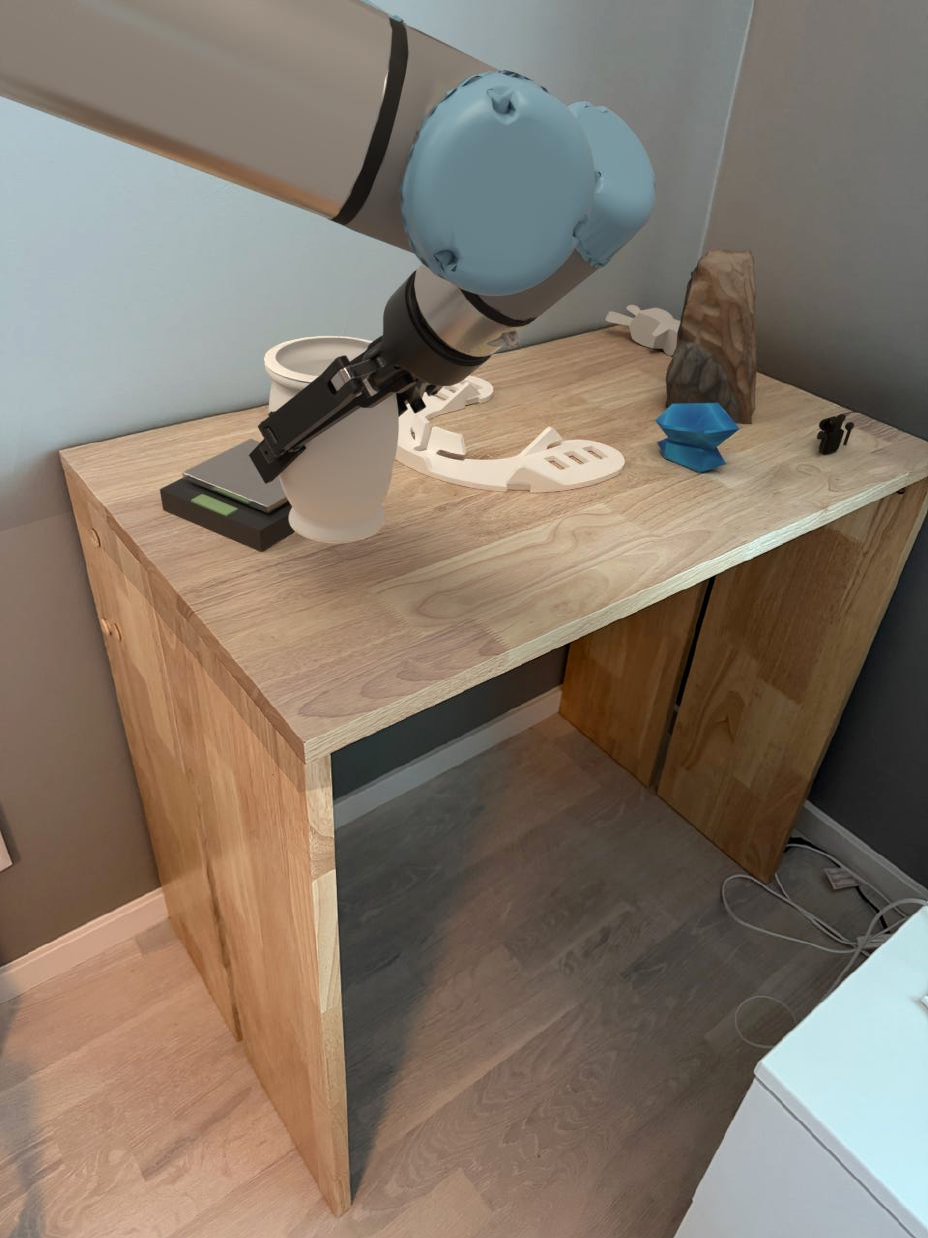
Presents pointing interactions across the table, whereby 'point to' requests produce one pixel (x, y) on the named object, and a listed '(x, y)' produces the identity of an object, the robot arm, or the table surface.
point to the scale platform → (238, 478)
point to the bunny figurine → (649, 327)
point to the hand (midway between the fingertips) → (312, 447)
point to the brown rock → (717, 337)
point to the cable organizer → (500, 473)
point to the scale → (227, 514)
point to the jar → (335, 448)
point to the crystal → (695, 434)
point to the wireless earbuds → (833, 433)
